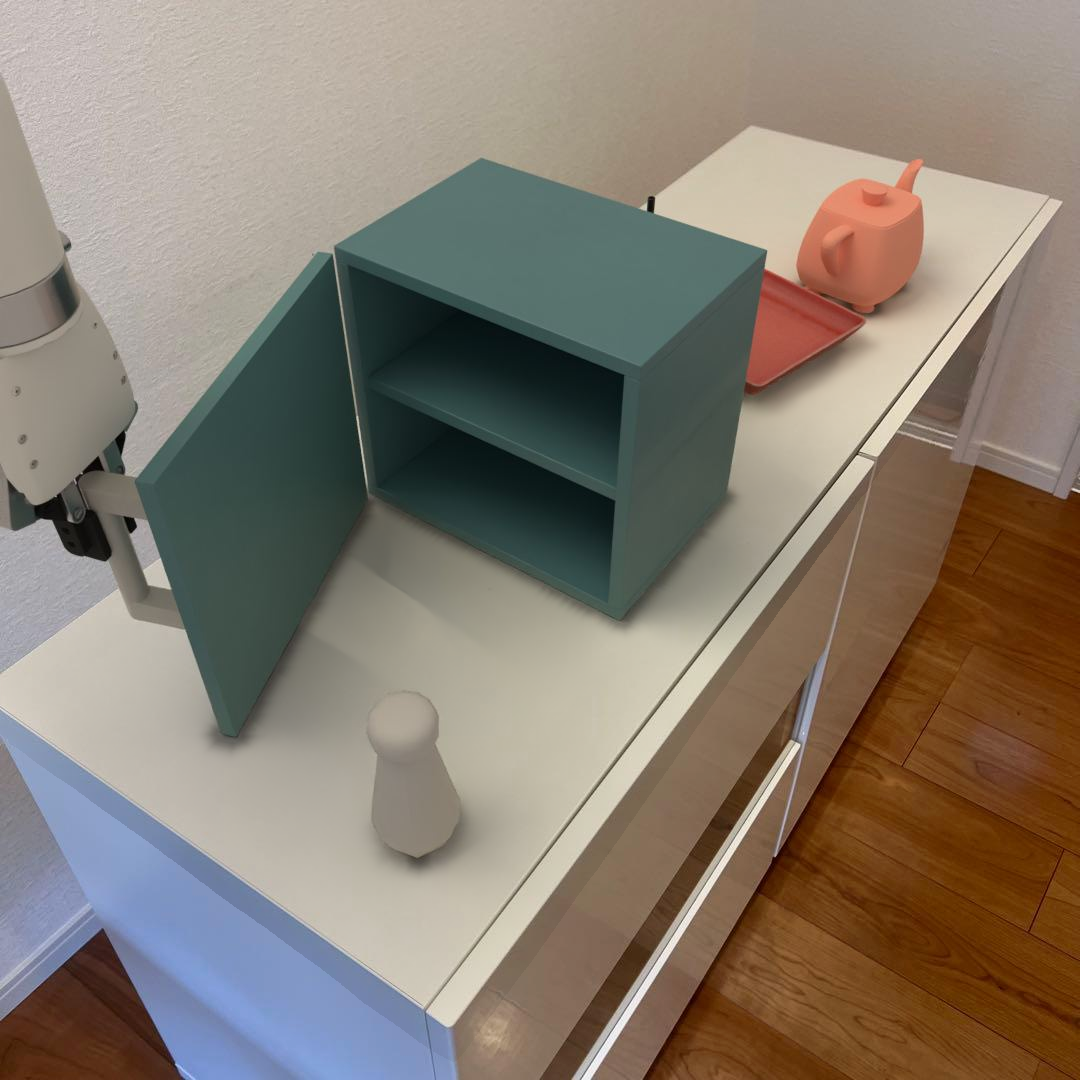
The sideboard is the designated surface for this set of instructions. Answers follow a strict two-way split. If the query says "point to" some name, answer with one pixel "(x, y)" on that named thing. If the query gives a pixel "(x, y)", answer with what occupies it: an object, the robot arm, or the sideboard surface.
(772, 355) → the plant saucer
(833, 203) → the teapot
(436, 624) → the sideboard surface
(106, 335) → the robot arm
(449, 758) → the sideboard surface
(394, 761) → the salt shaker
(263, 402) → the fridge door
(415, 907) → the sideboard surface
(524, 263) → the box
